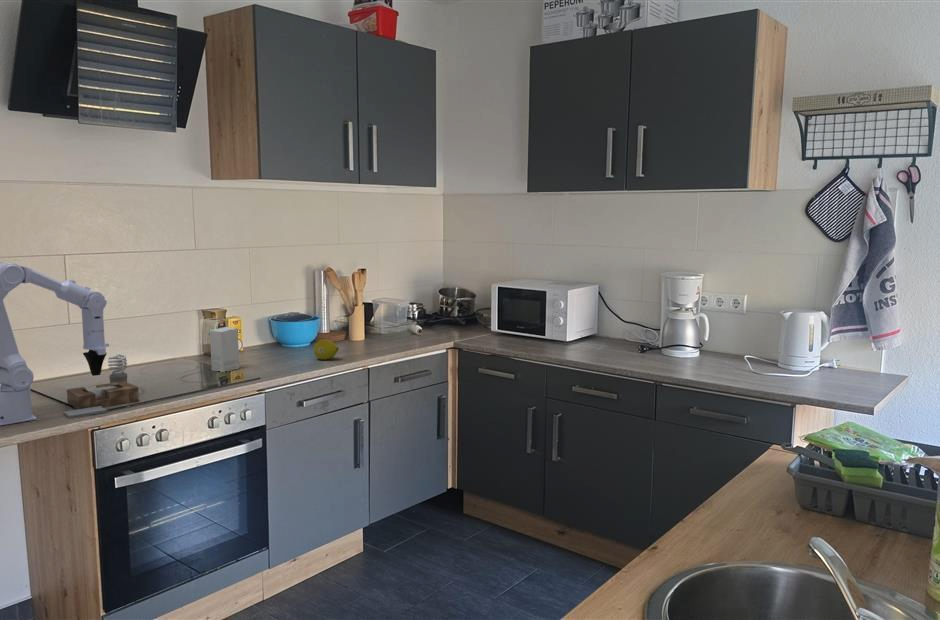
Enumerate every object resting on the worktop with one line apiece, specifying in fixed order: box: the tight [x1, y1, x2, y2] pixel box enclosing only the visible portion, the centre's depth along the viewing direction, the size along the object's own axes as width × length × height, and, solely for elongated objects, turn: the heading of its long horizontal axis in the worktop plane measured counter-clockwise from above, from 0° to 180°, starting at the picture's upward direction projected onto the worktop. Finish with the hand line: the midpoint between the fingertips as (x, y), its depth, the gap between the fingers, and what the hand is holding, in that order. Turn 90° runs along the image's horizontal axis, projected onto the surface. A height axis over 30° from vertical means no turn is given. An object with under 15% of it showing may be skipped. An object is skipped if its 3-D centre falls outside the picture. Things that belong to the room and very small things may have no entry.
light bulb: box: [107, 353, 128, 383], centre depth 244 cm, size 6×6×12 cm
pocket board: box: [66, 381, 140, 410], centre depth 229 cm, size 17×12×4 cm
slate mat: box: [62, 406, 108, 420], centre depth 217 cm, size 10×6×1 cm, turn 133°
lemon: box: [313, 339, 339, 361], centre depth 297 cm, size 11×8×8 cm
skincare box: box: [209, 326, 240, 373], centre depth 276 cm, size 8×7×16 cm
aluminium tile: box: [85, 386, 117, 399], centre depth 229 cm, size 8×4×2 cm, turn 133°
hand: (96, 375), depth 227 cm, fingers closed
